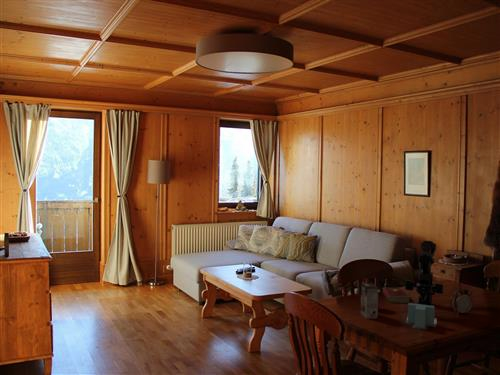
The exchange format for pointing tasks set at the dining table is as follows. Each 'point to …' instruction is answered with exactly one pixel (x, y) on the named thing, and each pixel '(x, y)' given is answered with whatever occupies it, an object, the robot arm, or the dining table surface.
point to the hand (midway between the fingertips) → (422, 301)
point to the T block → (421, 315)
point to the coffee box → (369, 300)
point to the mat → (425, 325)
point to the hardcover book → (396, 295)
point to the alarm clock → (461, 300)
